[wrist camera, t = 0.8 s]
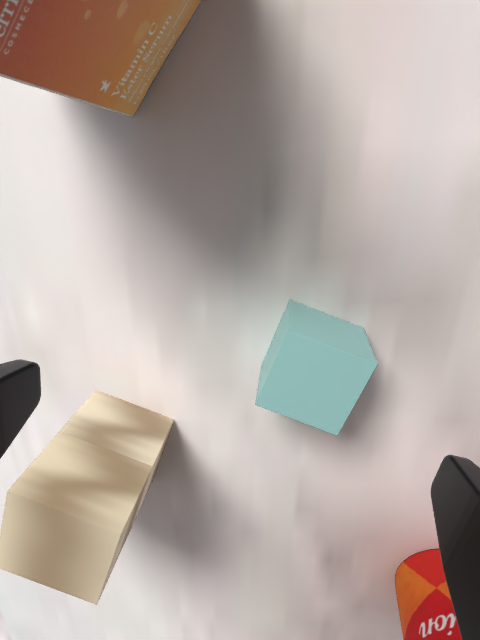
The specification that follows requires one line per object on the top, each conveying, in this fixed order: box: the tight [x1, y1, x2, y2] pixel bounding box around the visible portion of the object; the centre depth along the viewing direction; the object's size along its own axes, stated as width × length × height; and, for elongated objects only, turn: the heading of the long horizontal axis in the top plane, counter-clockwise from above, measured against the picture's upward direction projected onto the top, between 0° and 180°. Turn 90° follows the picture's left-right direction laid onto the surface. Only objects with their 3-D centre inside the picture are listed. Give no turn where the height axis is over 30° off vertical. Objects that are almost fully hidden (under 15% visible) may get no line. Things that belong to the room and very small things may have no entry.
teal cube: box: [255, 300, 378, 435], centre depth 19 cm, size 4×4×4 cm
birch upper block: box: [0, 431, 153, 605], centre depth 20 cm, size 5×5×4 cm
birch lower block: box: [60, 390, 174, 530], centre depth 23 cm, size 5×5×4 cm
